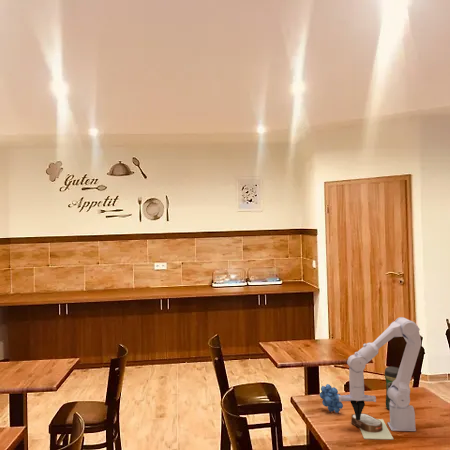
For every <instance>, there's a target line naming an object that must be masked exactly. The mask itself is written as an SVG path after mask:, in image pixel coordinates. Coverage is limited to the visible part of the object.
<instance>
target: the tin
mask: <svg viewBox="0 0 450 450" xmlns="http://www.w3.org/2000/svg"><path fill="white" fill-rule="evenodd" d="M350 419H351V421H350V422H351V424H353V425H354V426H356V427H358V428H359V429H360V428H361V429H363V430H364V431H367V432H380V431H382V430H383V428H382V422H381V421H379V420H378V419H379V418H376V417H374V416H372V415H370V414H369V413H368V414H367V413H363V412H361V416H360V420H356V416H355V413H354V414H351V418H350Z"/></svg>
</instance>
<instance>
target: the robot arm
mask: <svg viewBox="0 0 450 450" xmlns="http://www.w3.org/2000/svg"><path fill="white" fill-rule="evenodd" d="M420 330H421V329H420V327H419V326H418V325H417V323H416V322H415V321H413V320H410V319H408V318H406V317H403V316H400V317H397V318H396V319H395V321H394V320H393V321H392V322H391V323H390V324H389V326H388V327H387V328H386V329H385V330H384V331H383V332H382V333H381V334H380V335H379V336H378V337H376V339H375V340H374V341H373V342H367V343H363V345H362V346H363V347H361V348H360V349H359V350H358V351H355V352H354V354H351V355H349V356H348V358H347V361H346V364H347V365H348V367H349V368H348V372H349V373H348V374H349V375H348V377H349V378H348V381H349V394H343V395H341V394H340V395H339V402H342V403H343V402H350V404H351V406H352V408H353V411H354V414H355V416H356V420H360V416H361V413H363V410H364V408H365V405H366V403H365V402H373V403H377V397H376V395H369V394H365V380H364V378H365V375H364V370H365V369H366V365H367V364H368V363H369V362H371V361H372V360H373V359H374V358H375V357H377V355H378V354H379V349H380V348H382V347H383V346H384V345H386V344H387V343H388V342H389V341H391V340H392V339H393V338H400V337H401V338H402V337H403V338H404V340H405V342H406V344H405V348H404V351H403V354H402V358H401V362H400V365H399V367H398V368H399V371H398V374H397V377H396V380H394V381H393V382H392V385H391V387H390V388H389V389H388V391H387V395H388V397H389V399H390V403H389V407H390V410H389V421H388V422H387V426H388V428H389V430H390V431H392V432H393V431H394V432H417V429H416V413H415V407H414V406H413V405H410V402H411V397H410V395H411V387H410V383H411V380H412V376H413V373H414V371H415V370H414V369H415V367H416V363H417V359H418V357H419V353H420V350H421V346H422V340H421V339H422V338H421V334H420Z"/></svg>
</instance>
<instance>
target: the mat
mask: <svg viewBox="0 0 450 450" xmlns="http://www.w3.org/2000/svg"><path fill="white" fill-rule="evenodd" d="M377 419H378V420H379V421H381V422H382V428H383V430H382V431H380V432H367V431H364V430H363V429H361V428H359V430H360V432H361V435H362V437H363V440H390V441H391V440H394V437H393V436H392V434H391V430H390V429H389V427H388V425H387V424H386V423H385V420H384V418H381V419H380V418H377ZM394 441H395V440H394Z"/></svg>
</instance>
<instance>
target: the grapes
mask: <svg viewBox="0 0 450 450" xmlns="http://www.w3.org/2000/svg"><path fill="white" fill-rule="evenodd" d="M320 390H321V392H320V393H319V397H320V399H321V400H322V405H323V406H324V407H327V410H328V411H329V412H330V413H333V412H335V413H336V414H338V413H340V410H341V409H343V408H344V405H343V404H344V403H343V401H342V402H339V395H341V394H340V393H339V390H338V389H337V387H335V386H334V387H332V385H331V384H328V383H327V384H326V385H325V386H324V385H322V386H321V387H320Z"/></svg>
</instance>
